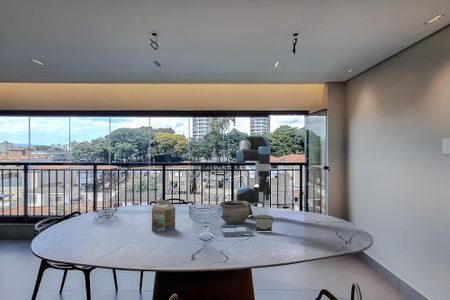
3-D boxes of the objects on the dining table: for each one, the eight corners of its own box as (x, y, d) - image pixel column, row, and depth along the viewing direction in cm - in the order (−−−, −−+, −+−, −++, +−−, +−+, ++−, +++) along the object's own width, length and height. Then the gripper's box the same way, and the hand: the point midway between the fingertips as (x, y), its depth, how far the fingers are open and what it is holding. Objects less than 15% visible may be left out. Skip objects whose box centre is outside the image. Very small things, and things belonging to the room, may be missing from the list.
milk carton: (151, 230, 187) (152, 201, 188) (162, 227, 197) (162, 198, 197) (164, 232, 182) (165, 202, 183) (175, 229, 192) (175, 200, 192)
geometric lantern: (90, 217, 224) (91, 172, 226) (104, 214, 239) (105, 171, 241) (107, 219, 219) (108, 172, 221) (121, 215, 234) (122, 171, 236)
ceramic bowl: (250, 227, 198) (250, 205, 199) (218, 226, 199) (218, 204, 199) (248, 220, 220) (248, 200, 221) (219, 219, 221) (219, 200, 221)
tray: (219, 229, 193) (219, 225, 193) (245, 228, 195) (245, 224, 195) (223, 236, 175) (223, 232, 175) (251, 235, 178) (251, 231, 178)
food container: (273, 230, 191) (273, 215, 191) (273, 232, 184) (273, 217, 185) (254, 229, 192) (254, 214, 192) (254, 232, 186) (254, 216, 186)
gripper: (253, 169, 201) (253, 200, 200) (263, 171, 176) (263, 206, 175) (264, 169, 202) (264, 200, 201) (275, 171, 177) (275, 206, 177)
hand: (263, 203), depth 188 cm, fingers open, 13 cm apart
